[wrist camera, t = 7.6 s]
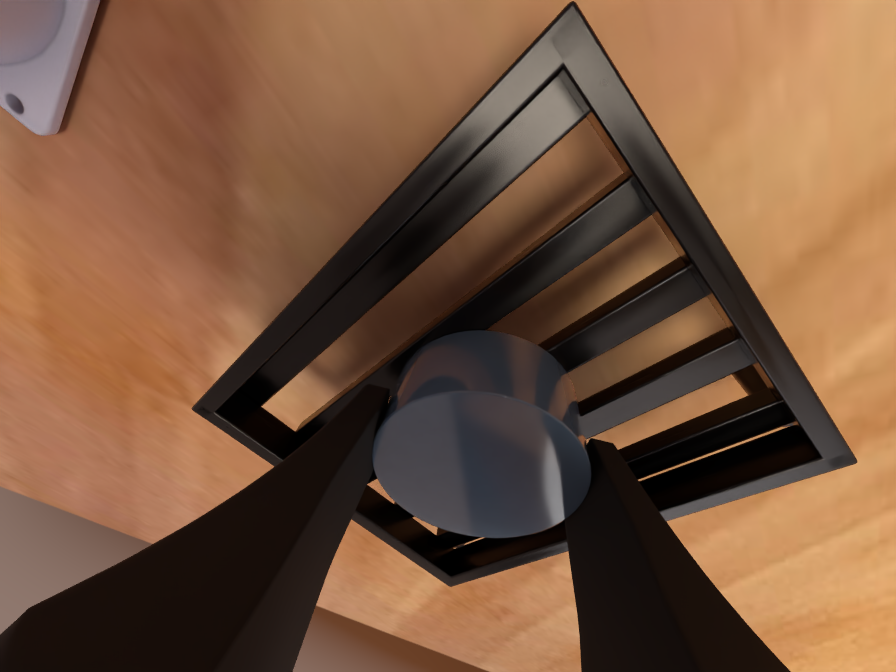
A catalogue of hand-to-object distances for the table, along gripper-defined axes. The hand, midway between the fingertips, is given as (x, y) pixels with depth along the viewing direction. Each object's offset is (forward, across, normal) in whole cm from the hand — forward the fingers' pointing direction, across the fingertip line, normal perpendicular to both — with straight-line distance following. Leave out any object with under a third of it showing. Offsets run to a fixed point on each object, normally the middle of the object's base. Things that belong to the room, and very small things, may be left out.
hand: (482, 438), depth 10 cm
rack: (+5, 0, 0) cm, 5 cm away
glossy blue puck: (+1, 0, 0) cm, 1 cm away
